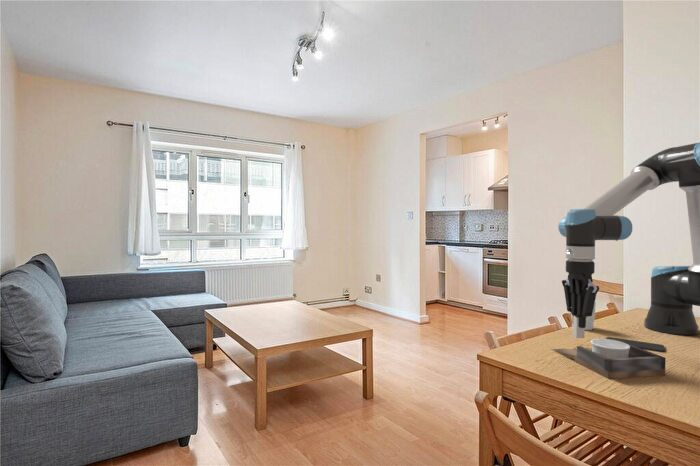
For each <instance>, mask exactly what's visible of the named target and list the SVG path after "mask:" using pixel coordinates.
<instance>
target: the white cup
mask: <svg viewBox="0 0 700 466" xmlns="http://www.w3.org/2000/svg"><path fill="white" fill-rule="evenodd" d="M596 305H597V302H596V301H595V303H594V308H593V312H592V316H588V317H586V327H585V331H592V329H593V330H594V323H595V318H596ZM570 314H571V313H570ZM571 319H572V314H571ZM571 327H572V328H573V324H572V323H571Z"/></svg>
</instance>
